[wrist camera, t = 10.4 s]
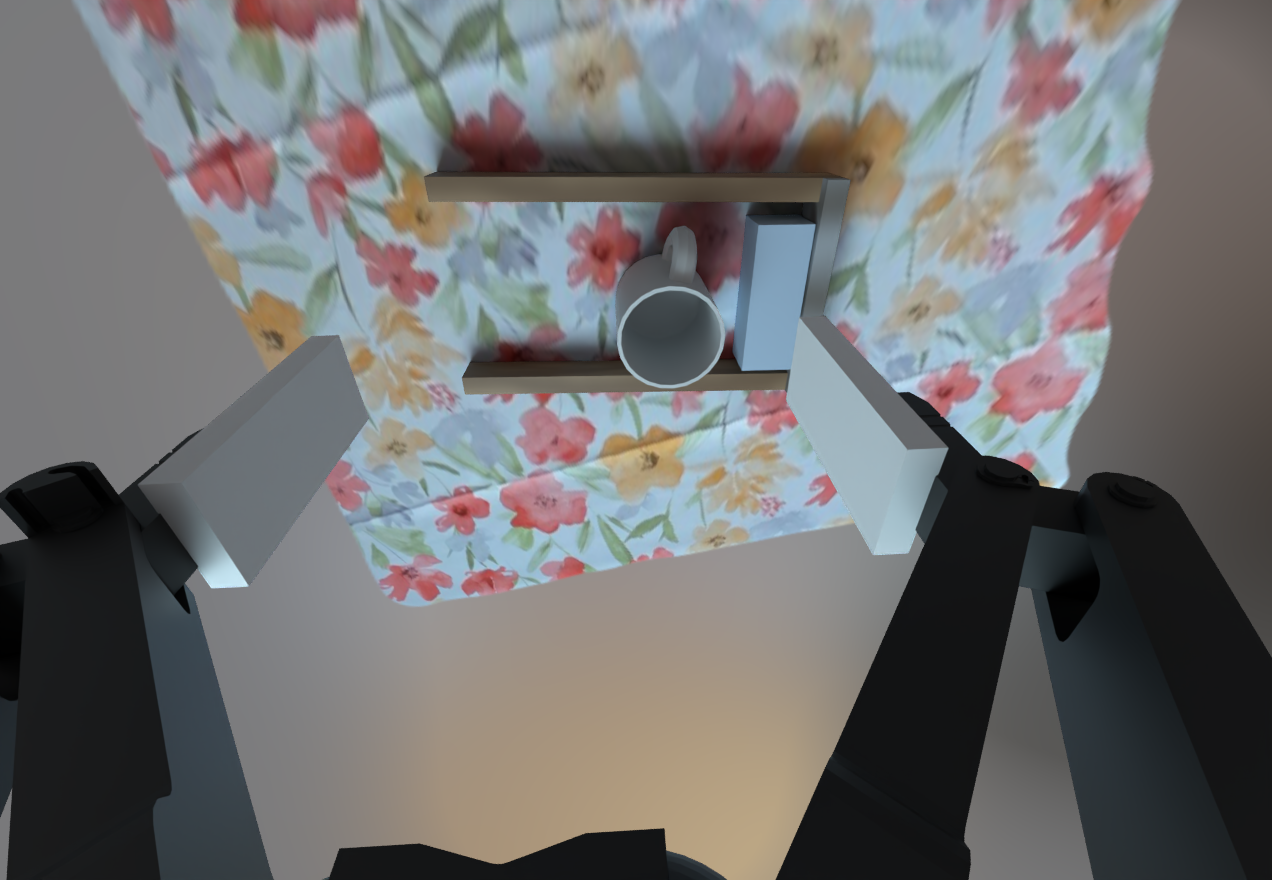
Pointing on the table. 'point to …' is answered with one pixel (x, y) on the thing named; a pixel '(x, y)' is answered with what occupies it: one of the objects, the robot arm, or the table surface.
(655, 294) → the cup
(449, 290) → the table surface
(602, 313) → the table surface
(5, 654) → the robot arm
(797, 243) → the block
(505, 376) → the channel
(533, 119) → the table surface
